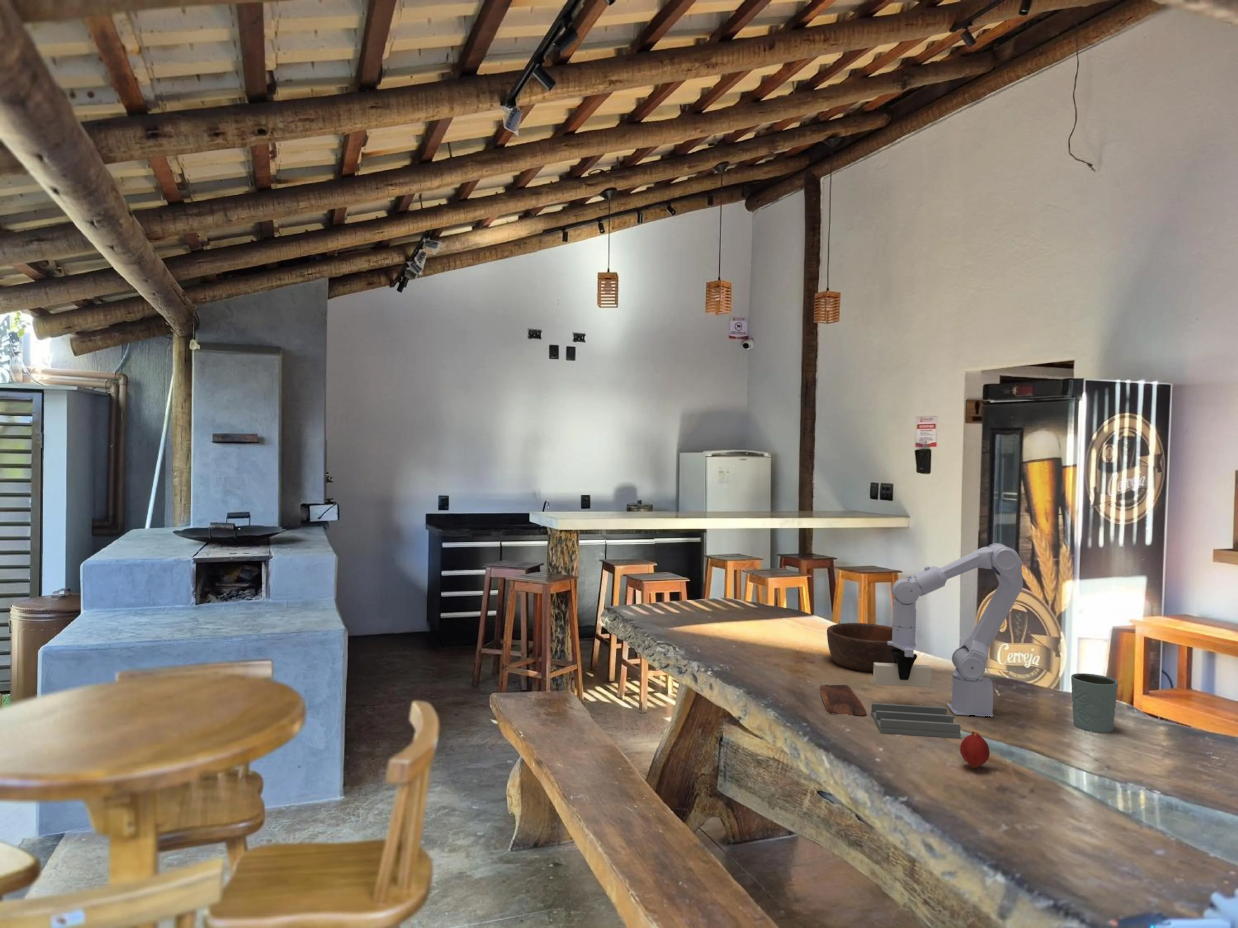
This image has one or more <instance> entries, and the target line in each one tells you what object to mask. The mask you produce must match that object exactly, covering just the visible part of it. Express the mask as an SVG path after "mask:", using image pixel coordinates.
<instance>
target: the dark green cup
mask: <svg viewBox="0 0 1238 928" xmlns="http://www.w3.org/2000/svg"><path fill="white" fill-rule="evenodd" d="M1070 680H1071V682H1070V683H1071V701H1072V724H1073V726H1074V727H1076V728H1078V729H1080V728H1081V729H1080V730H1083V729H1084V730H1083V731H1086V730H1087V731H1086V732H1090V731H1092V732H1091V733H1096V732H1097V734H1110V733H1112V732H1113V731H1114V726H1115V724H1114V723H1115V715H1116V710H1115V709H1116V706H1117V705H1116V704H1117V693H1118V685H1119V683H1118V680H1117V679H1115V678H1112V677H1109V676H1105V675H1101V674H1094V673H1082V672H1081V673H1079V672H1078V673H1073V674H1071V676H1070Z"/></svg>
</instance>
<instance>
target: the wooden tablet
mask: <svg viewBox="0 0 1238 928" xmlns="http://www.w3.org/2000/svg"><path fill="white" fill-rule="evenodd" d="M819 687H820V689H819V688H818V691H819V690H820V691H819V693H820V696H821V698H822V701H823V704H824V707H825V709H826V711H827V713H828V712H829V713H830V715H837V714H841V715H846V714H848V716H851V715H853V716H852V717H866V716H867V711H866V707H864V704H863V703H862V701H861V700H860V698H859V697H858V696H857V695H856V693H855V692H854V690H853V689H852V688H851V687H850V686H849V685H847V684H822V685H820V686H819Z"/></svg>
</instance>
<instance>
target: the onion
mask: <svg viewBox="0 0 1238 928" xmlns="http://www.w3.org/2000/svg"><path fill="white" fill-rule="evenodd" d="M959 751H960V755H961V757H962V759H963V760H964V761H965V762H966V763H967V764H968V765H969V766H970V767H971V768H972V769H977V768H979V767H981V766H982V765H984V764H986V762H988V760H989V758H990V754H991V753H990V747H989V744H988V742H987V741H986V740H985V738H983V737H982V736H981V735H980V733H979V732H978V731H977V730H973V731H971V734H968V735H966V736H965V737H964V738H963V739H962V741H961V743H960V746H959Z"/></svg>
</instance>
